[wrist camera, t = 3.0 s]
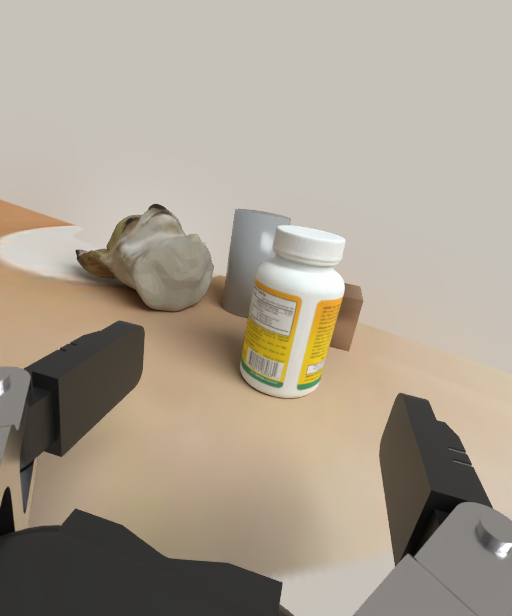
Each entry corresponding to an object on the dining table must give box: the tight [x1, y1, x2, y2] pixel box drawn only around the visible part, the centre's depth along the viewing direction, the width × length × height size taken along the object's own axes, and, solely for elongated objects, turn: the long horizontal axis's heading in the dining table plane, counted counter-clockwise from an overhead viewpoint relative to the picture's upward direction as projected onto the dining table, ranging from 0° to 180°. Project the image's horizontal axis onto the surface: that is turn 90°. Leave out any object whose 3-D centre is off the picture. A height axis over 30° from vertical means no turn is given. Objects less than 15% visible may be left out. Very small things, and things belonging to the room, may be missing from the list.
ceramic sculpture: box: [76, 204, 214, 311], centre depth 33 cm, size 11×9×15 cm
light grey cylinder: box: [222, 209, 291, 318], centre depth 33 cm, size 5×5×9 cm
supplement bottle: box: [240, 225, 345, 398], centre depth 22 cm, size 5×5×10 cm
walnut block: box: [329, 283, 363, 351], centre depth 30 cm, size 4×4×4 cm
